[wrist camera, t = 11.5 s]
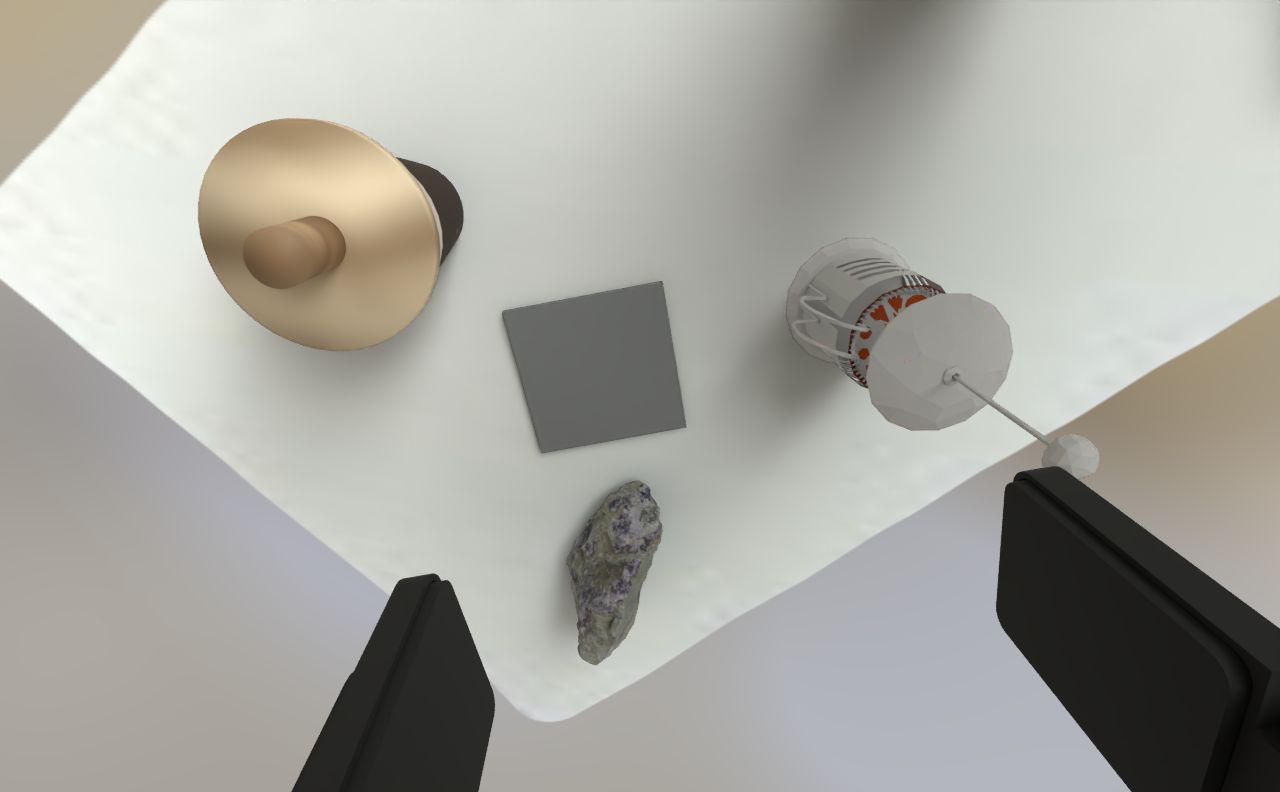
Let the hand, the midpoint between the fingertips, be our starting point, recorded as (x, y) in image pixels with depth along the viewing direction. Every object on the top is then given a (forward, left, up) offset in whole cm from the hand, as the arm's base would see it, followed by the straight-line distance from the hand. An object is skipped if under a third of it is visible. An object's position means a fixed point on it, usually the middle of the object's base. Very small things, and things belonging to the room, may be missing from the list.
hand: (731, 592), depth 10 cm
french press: (+7, +14, -36) cm, 40 cm away
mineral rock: (+26, -6, -37) cm, 45 cm away
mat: (+9, -5, -36) cm, 38 cm away
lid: (-5, -17, -26) cm, 32 cm away
